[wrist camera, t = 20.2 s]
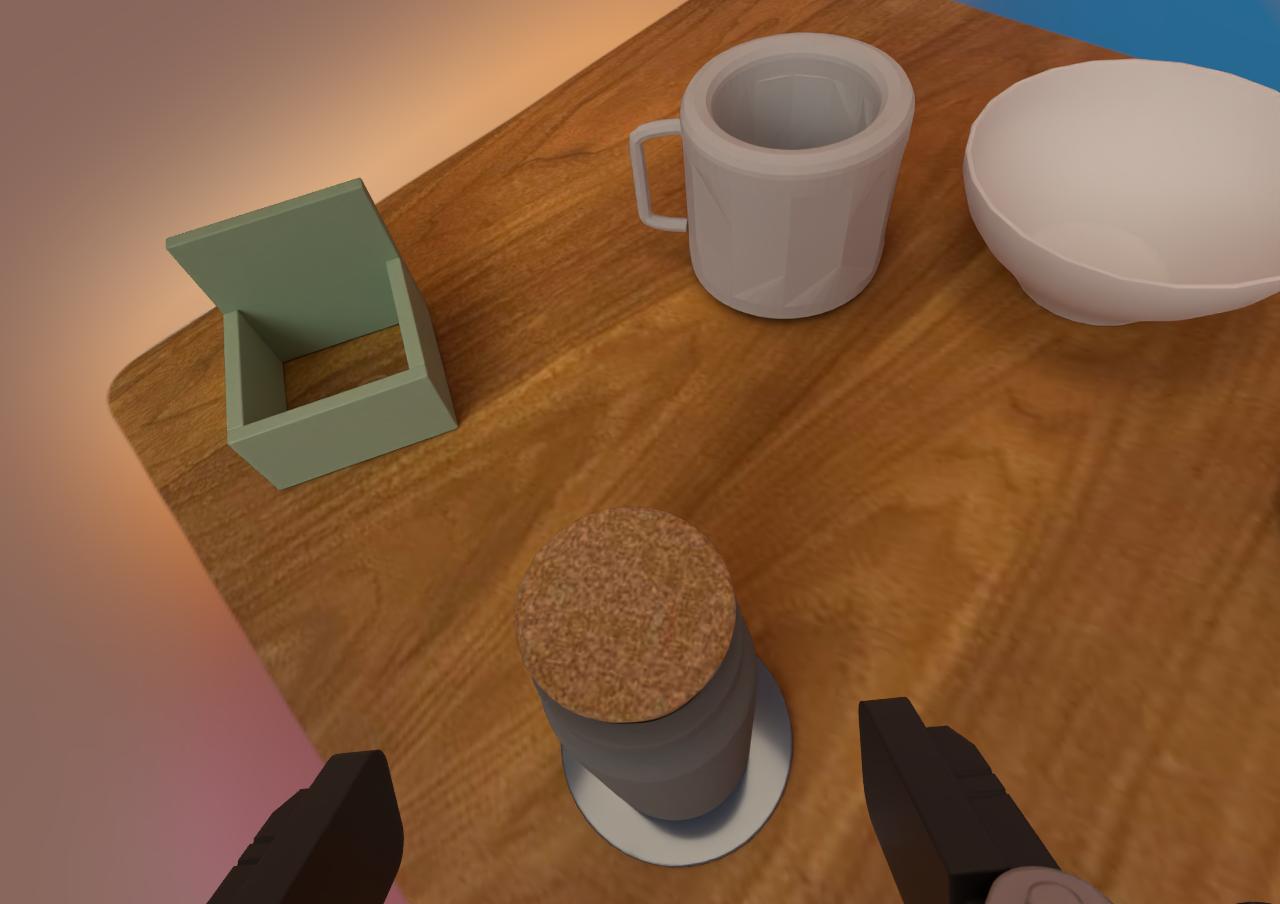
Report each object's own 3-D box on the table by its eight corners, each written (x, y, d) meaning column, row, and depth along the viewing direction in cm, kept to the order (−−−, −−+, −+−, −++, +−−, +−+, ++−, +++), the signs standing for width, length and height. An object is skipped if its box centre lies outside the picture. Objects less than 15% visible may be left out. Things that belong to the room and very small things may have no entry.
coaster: (603, 908, 26) (600, 908, 25) (538, 670, 30) (535, 666, 30) (833, 811, 26) (835, 810, 26) (735, 594, 31) (735, 589, 31)
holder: (279, 491, 37) (160, 385, 29) (268, 357, 42) (165, 237, 34) (459, 428, 37) (389, 309, 30) (427, 304, 43) (360, 176, 35)
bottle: (651, 635, 30) (590, 444, 17) (777, 712, 28) (814, 559, 15) (569, 762, 28) (430, 649, 15) (700, 857, 25) (666, 820, 13)
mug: (875, 191, 43) (909, 20, 35) (885, 326, 38) (928, 162, 29) (654, 194, 45) (635, 34, 37) (633, 322, 40) (605, 169, 32)
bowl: (1107, 451, 33) (1189, 352, 27) (870, 255, 41) (892, 146, 35) (1339, 293, 36) (1459, 173, 30) (1076, 140, 44) (1129, 21, 38)
